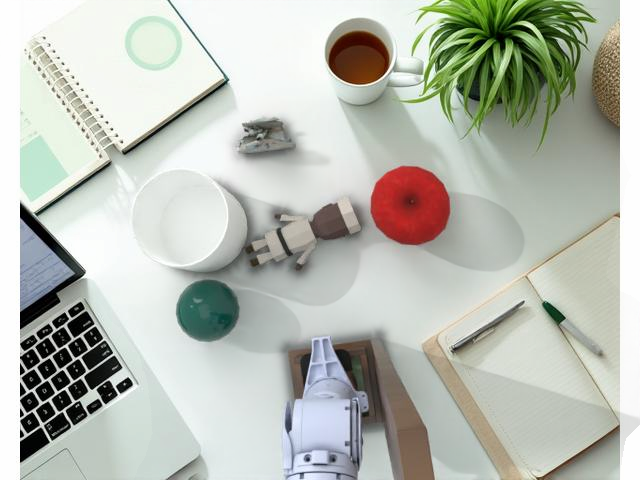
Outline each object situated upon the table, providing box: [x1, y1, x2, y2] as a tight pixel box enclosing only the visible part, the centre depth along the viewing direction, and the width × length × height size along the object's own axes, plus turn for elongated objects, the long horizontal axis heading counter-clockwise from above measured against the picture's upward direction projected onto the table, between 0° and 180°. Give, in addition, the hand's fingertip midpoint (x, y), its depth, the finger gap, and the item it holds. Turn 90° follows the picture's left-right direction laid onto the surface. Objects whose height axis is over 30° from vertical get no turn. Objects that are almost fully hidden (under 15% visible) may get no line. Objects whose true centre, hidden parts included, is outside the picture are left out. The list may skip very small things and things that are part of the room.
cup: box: [130, 167, 248, 273], centre depth 77 cm, size 12×12×12 cm
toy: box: [243, 195, 362, 272], centre depth 80 cm, size 8×5×15 cm
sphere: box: [175, 278, 241, 343], centre depth 78 cm, size 8×8×8 cm
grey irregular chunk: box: [235, 115, 297, 155], centre depth 81 cm, size 4×8×7 cm, turn 97°
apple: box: [370, 165, 451, 246], centre depth 77 cm, size 10×10×11 cm
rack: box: [287, 337, 436, 480], centre depth 52 cm, size 11×12×57 cm
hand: (333, 393), depth 74 cm, fingers closed on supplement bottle, 6 cm apart
